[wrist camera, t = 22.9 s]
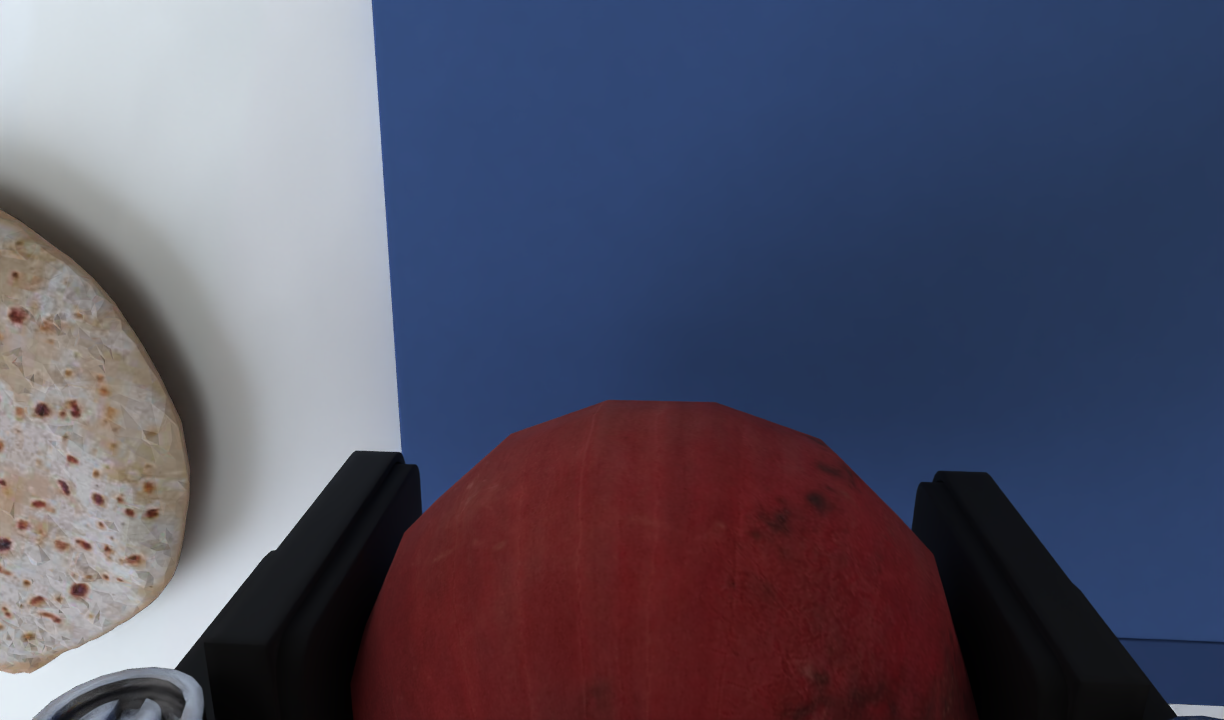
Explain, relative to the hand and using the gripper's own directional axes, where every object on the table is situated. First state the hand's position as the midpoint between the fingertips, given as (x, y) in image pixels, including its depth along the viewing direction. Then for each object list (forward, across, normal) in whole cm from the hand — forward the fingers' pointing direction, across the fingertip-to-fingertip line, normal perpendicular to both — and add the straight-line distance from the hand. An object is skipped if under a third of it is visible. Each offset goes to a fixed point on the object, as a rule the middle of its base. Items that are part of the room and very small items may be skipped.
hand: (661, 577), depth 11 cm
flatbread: (+4, +11, 0) cm, 12 cm away
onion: (+2, 0, 0) cm, 2 cm away
